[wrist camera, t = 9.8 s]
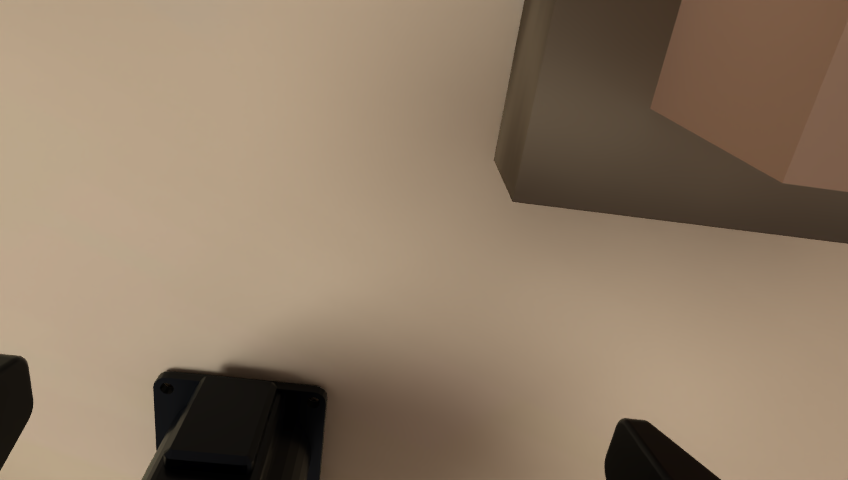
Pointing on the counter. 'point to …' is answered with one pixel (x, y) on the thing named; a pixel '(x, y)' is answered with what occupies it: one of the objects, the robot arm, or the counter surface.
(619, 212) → the walnut base
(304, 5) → the counter surface
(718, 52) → the brown cube
